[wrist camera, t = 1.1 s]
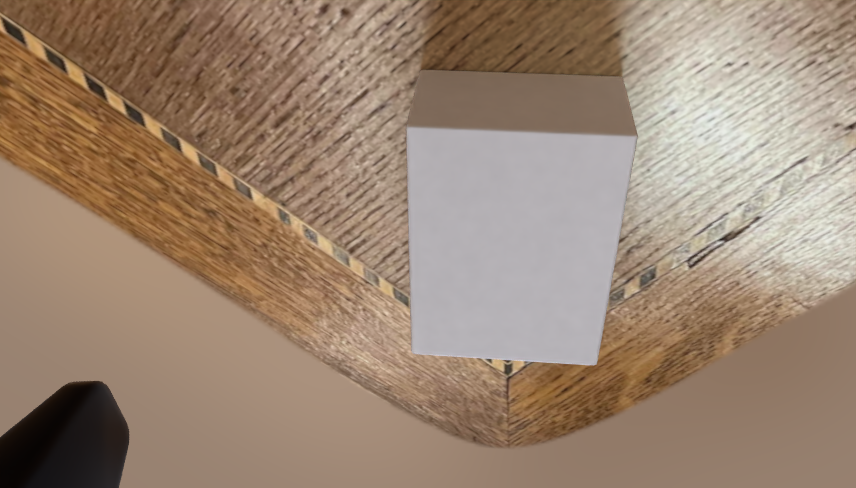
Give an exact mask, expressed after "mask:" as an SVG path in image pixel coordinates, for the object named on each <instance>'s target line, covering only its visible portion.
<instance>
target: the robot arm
mask: <svg viewBox="0 0 856 488" xmlns="http://www.w3.org/2000/svg"><path fill="white" fill-rule="evenodd" d="M128 445H129V429H128V426H127V423H126V421H125V419H124V417H123V415H122V413H121V411H120V409H119V407H118V405H117V403H116V401H115V399H114V397H113V395H112V393H111V391H110V389H109V388H108V386H107V385H106V384H104V383H103V382H100V381H84V382H72V383H68V384H66V385H65V386H63V387H61V388H60V389H59V390H58V391H56V392H55V393H54V394H53V395H52V396H50V397H49V398H48V399H47V400H45V401H44V402H43V403H42V404H41V405H39V406H38V407H37V408H36V409H34V410H33V411H32V412H31V413H29V414H28V415H27V416H26V417H25V418H23V419H22V420H21V421H20V422H19V423H17V424H16V425H15V426H13V427H12V428H11V429H10V430H9V431H7V432H6V433H5V434H4V435H2V436H1V437H0V488H119V484H120V480H121V476H122V471H123V467H124V463H125V458H126V454H127V450H128Z"/></svg>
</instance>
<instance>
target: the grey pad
mask: <svg viewBox="0 0 856 488" xmlns="http://www.w3.org/2000/svg"><path fill="white" fill-rule="evenodd" d="M637 137H638V135H637V131H636V127H635V123H634V120H633V116H632V112H631V108H630V104H629V100H628V96H627V92H626V88H625V85H624V81H623V78H622V77H618V76H590V75H561V74H532V73H504V72H475V71H447V70H421V71H420V72H419V76H418V80H417V84H416V88H415V92H414V96H413V100H412V104H411V108H410V112H409V116H408V120H407V124H406V151H407V193H408V234H409V275H410V316H411V351H412V353H413V354H423V355H439V356H455V357H470V358H486V359H501V360H517V361H533V362H548V363H564V364H579V365H596V364H597V361H598V356H599V350H600V345H601V339H602V333H603V328H604V322H605V317H606V311H607V305H608V300H609V294H610V289H611V283H612V277H613V272H614V266H615V261H616V255H617V249H618V244H619V238H620V233H621V227H622V221H623V216H624V210H625V205H626V199H627V193H628V188H629V182H630V177H631V171H632V165H633V160H634V154H635V149H636V143H637Z"/></svg>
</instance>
